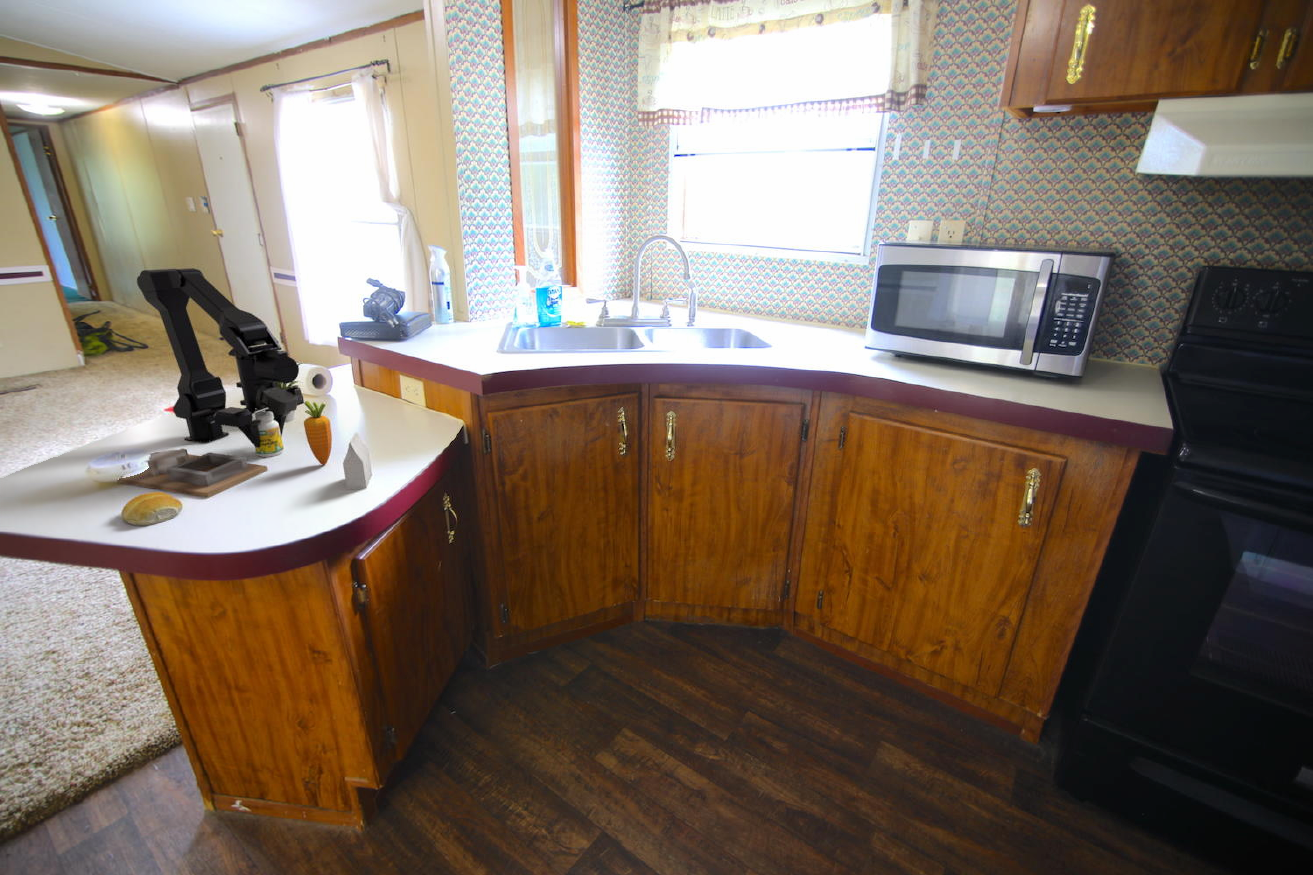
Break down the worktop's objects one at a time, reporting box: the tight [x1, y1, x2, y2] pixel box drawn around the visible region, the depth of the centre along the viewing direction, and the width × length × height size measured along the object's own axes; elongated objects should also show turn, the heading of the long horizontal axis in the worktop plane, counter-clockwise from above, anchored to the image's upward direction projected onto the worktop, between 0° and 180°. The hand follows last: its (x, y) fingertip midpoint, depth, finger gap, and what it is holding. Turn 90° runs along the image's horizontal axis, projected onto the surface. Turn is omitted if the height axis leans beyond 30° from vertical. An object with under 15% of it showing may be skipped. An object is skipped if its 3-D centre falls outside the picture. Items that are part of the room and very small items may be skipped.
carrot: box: [303, 400, 333, 466], centre depth 129 cm, size 5×5×15 cm
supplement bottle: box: [254, 411, 285, 458], centre depth 135 cm, size 5×5×10 cm
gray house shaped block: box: [342, 432, 373, 490], centre depth 123 cm, size 4×7×10 cm, turn 16°
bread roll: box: [121, 491, 183, 527], centre depth 107 cm, size 8×9×4 cm
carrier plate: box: [117, 448, 268, 499], centre depth 123 cm, size 22×14×4 cm, turn 77°
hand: (268, 442), depth 136 cm, fingers closed on supplement bottle, 5 cm apart
